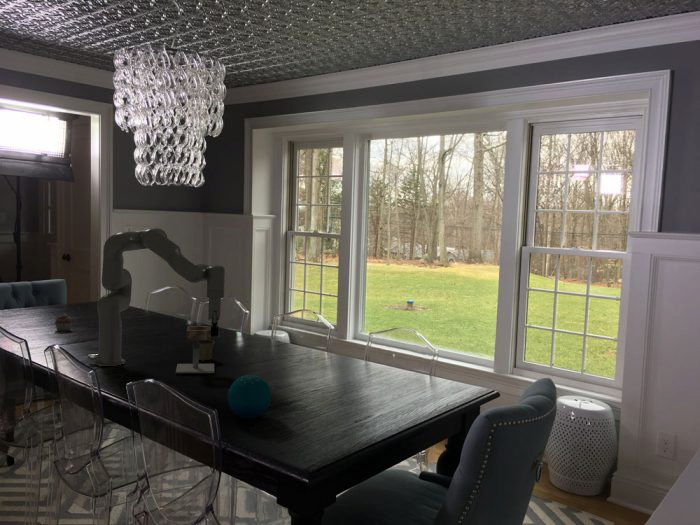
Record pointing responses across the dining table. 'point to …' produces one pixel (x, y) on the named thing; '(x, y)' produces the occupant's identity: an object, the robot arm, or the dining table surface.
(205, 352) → the flower pot
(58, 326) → the cupcake
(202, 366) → the post stand
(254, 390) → the decorative orb
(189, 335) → the birch loop
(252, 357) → the dining table surface
